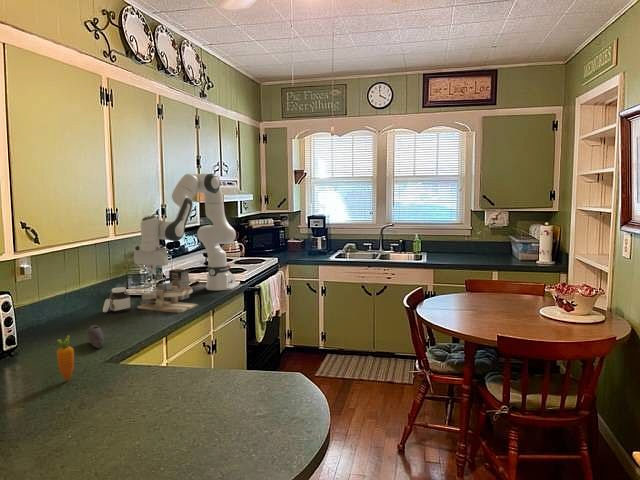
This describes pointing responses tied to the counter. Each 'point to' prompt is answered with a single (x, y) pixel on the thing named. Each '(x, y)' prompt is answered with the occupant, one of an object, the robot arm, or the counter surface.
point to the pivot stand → (167, 304)
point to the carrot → (65, 359)
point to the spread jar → (117, 300)
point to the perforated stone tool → (95, 336)
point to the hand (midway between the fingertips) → (151, 273)
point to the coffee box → (179, 280)
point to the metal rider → (165, 287)
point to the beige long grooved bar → (166, 294)
